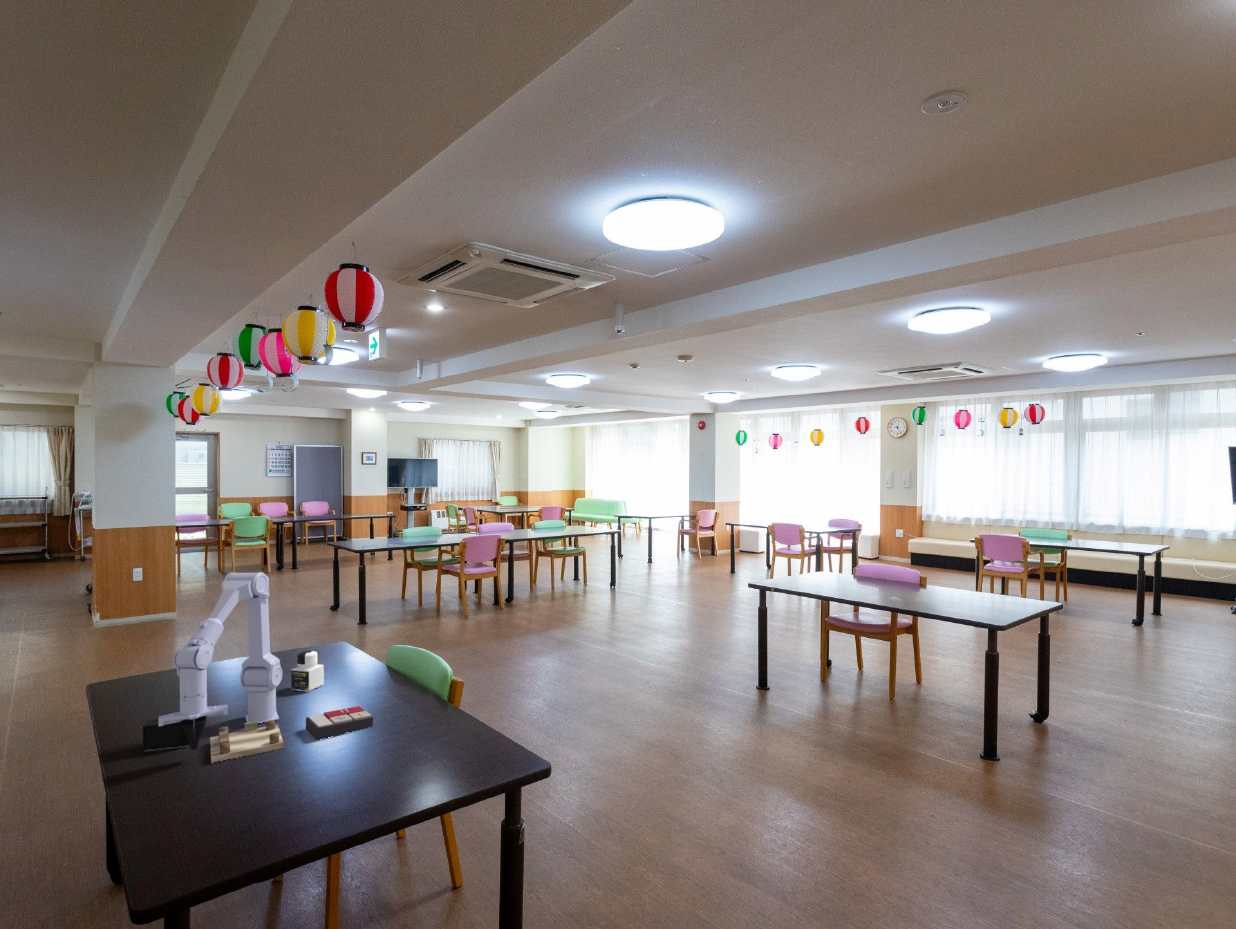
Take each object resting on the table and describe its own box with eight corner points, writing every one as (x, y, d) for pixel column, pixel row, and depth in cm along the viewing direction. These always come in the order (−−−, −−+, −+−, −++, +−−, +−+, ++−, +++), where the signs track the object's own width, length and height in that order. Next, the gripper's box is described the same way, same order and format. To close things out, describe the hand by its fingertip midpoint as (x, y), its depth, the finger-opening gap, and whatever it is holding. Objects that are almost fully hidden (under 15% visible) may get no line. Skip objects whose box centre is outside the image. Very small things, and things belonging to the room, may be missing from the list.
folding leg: (218, 737, 177) (218, 727, 177) (228, 735, 178) (228, 725, 178) (219, 750, 169) (219, 740, 169) (229, 748, 170) (229, 738, 170)
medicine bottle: (290, 691, 219) (290, 654, 219) (306, 684, 226) (306, 648, 226) (308, 692, 217) (308, 655, 217) (324, 685, 224) (323, 649, 224)
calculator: (374, 714, 187) (317, 725, 178) (373, 730, 187) (316, 742, 178) (360, 704, 196) (305, 714, 186) (359, 719, 196) (304, 730, 186)
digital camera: (195, 739, 180) (195, 713, 180) (189, 747, 175) (189, 720, 175) (150, 745, 177) (149, 718, 177) (143, 753, 172) (142, 725, 172)
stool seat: (210, 743, 177) (210, 729, 177) (277, 729, 186) (277, 717, 186) (211, 763, 165) (211, 749, 165) (283, 748, 173) (283, 734, 173)
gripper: (157, 704, 160) (158, 761, 160) (227, 692, 168) (228, 746, 168) (159, 696, 166) (159, 751, 166) (226, 685, 174) (227, 737, 174)
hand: (194, 748), depth 168 cm, fingers closed
